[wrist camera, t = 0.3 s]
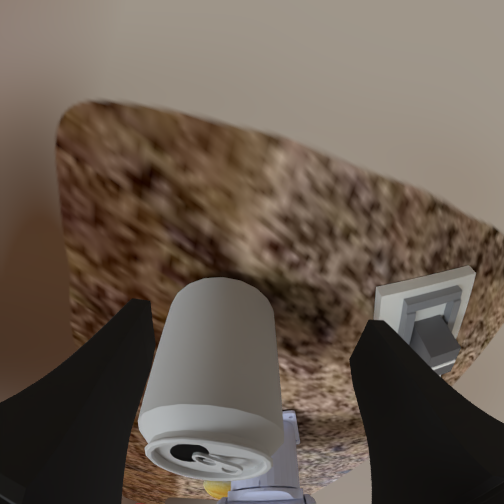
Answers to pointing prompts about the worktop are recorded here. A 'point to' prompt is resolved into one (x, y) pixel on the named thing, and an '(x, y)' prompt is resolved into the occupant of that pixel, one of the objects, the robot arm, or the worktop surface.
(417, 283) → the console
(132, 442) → the worktop surface
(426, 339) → the fader
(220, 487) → the bread roll
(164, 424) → the can
